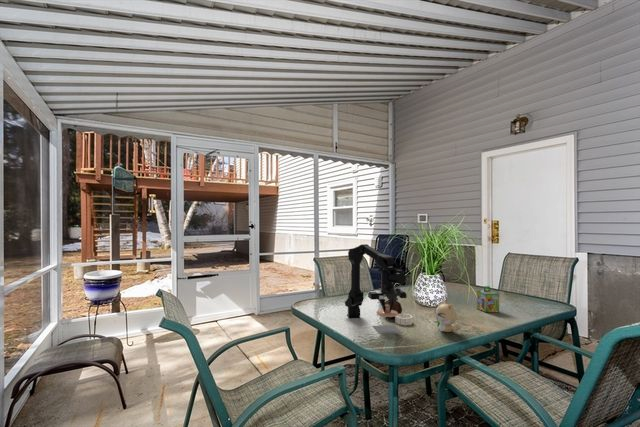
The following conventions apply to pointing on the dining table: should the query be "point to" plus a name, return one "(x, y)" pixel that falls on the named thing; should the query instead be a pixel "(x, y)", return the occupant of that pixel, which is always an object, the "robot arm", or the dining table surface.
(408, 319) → the bowl
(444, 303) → the kitten
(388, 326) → the mat
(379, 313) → the lid
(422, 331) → the dining table surface
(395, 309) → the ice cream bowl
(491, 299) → the chalk box
